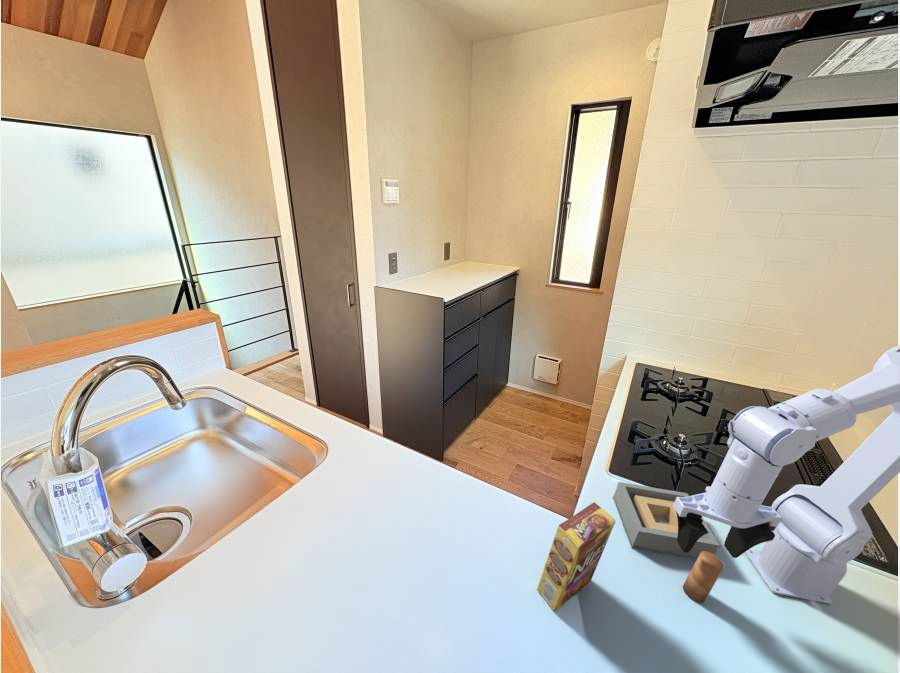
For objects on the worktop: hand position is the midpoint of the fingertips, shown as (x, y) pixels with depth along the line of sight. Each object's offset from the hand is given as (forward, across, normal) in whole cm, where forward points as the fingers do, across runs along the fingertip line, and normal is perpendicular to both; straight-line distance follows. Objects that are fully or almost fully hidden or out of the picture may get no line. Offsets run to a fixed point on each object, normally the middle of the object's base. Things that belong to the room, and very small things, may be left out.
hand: (706, 549), depth 57 cm
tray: (+9, -1, -12) cm, 15 cm away
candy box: (+10, +21, +2) cm, 24 cm away
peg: (+9, -1, +1) cm, 9 cm away
